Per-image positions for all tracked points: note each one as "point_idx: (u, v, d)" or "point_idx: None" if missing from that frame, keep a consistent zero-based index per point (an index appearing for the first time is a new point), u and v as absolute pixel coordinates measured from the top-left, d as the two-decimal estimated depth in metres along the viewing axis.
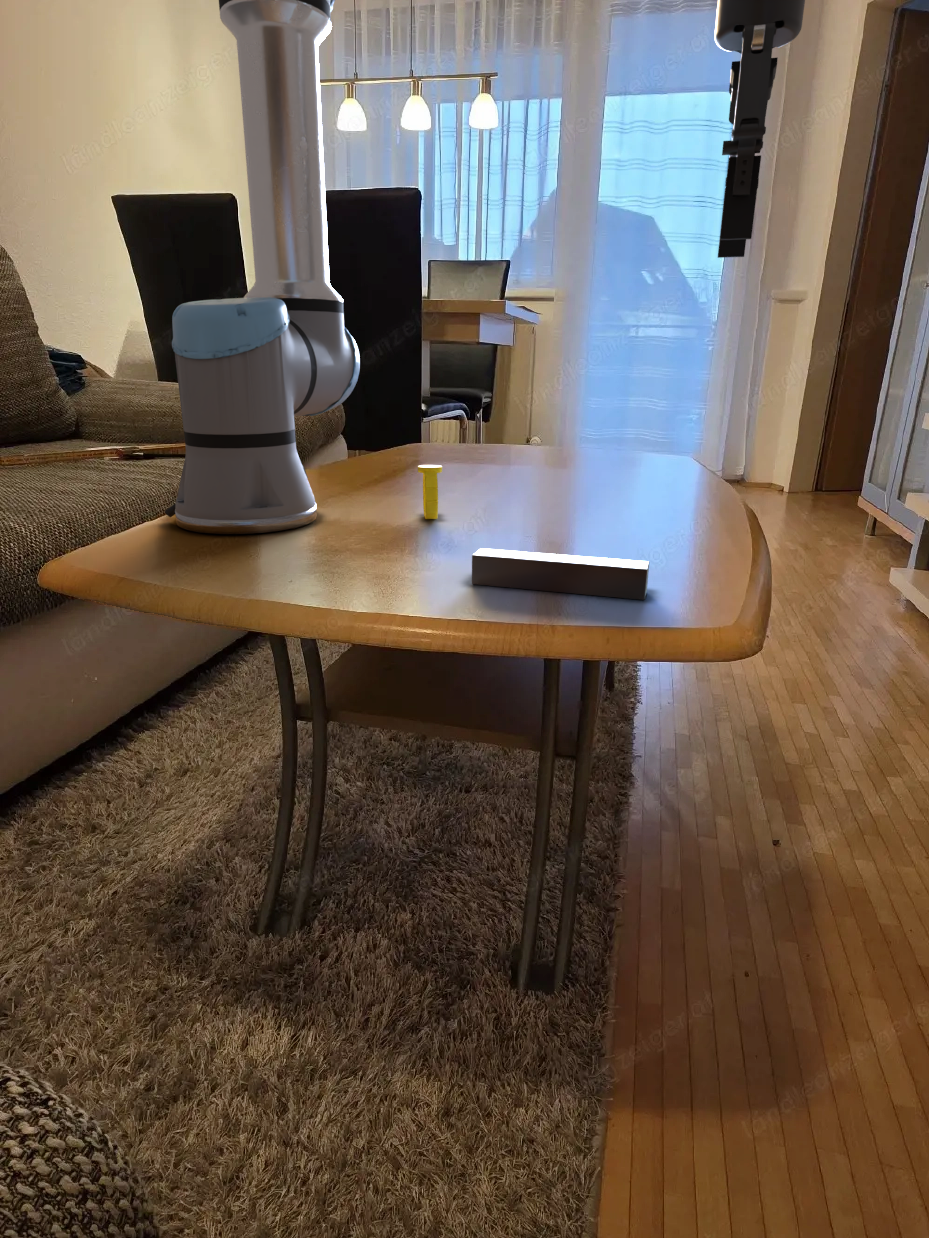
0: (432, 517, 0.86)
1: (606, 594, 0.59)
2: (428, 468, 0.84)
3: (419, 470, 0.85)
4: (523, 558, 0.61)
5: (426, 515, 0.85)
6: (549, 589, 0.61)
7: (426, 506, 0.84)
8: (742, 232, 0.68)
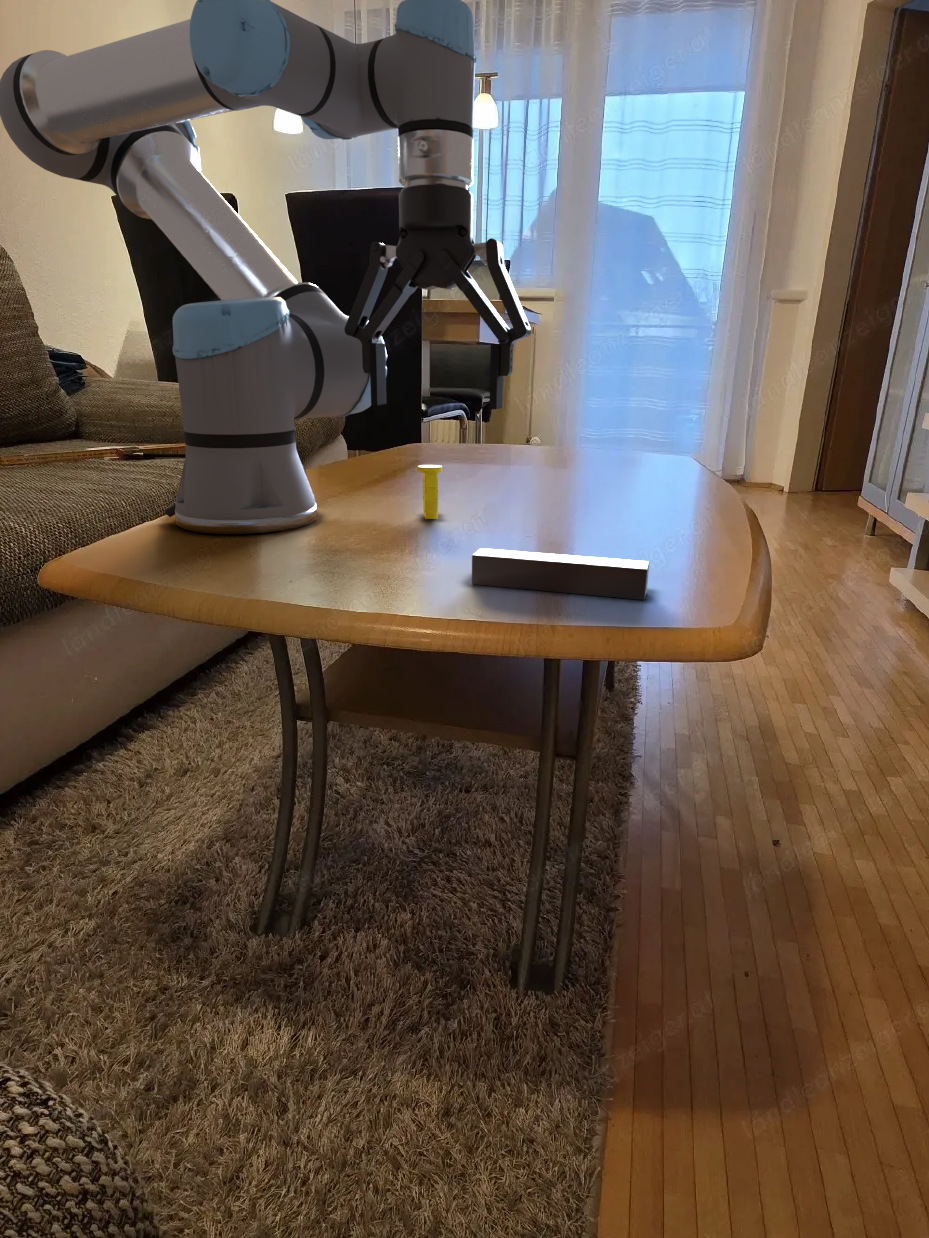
0: (432, 517, 0.86)
1: (606, 594, 0.59)
2: (428, 468, 0.84)
3: (419, 470, 0.85)
4: (523, 558, 0.61)
5: (426, 515, 0.85)
6: (549, 589, 0.61)
7: (426, 506, 0.84)
8: None
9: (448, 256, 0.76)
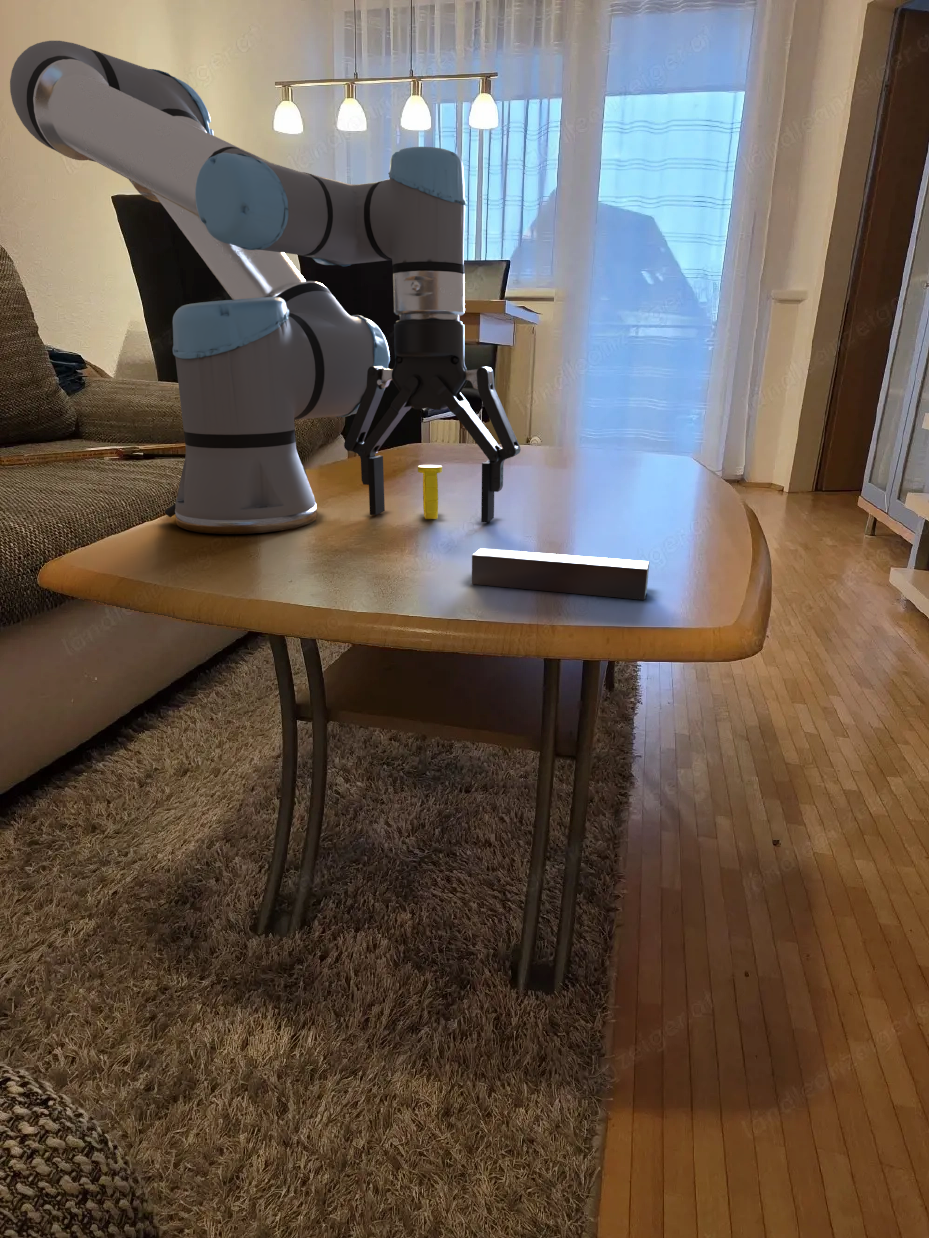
0: (432, 517, 0.86)
1: (606, 594, 0.59)
2: (428, 468, 0.84)
3: (419, 470, 0.85)
4: (523, 558, 0.61)
5: (426, 515, 0.85)
6: (549, 589, 0.61)
7: (426, 506, 0.84)
8: None
9: (441, 382, 0.80)
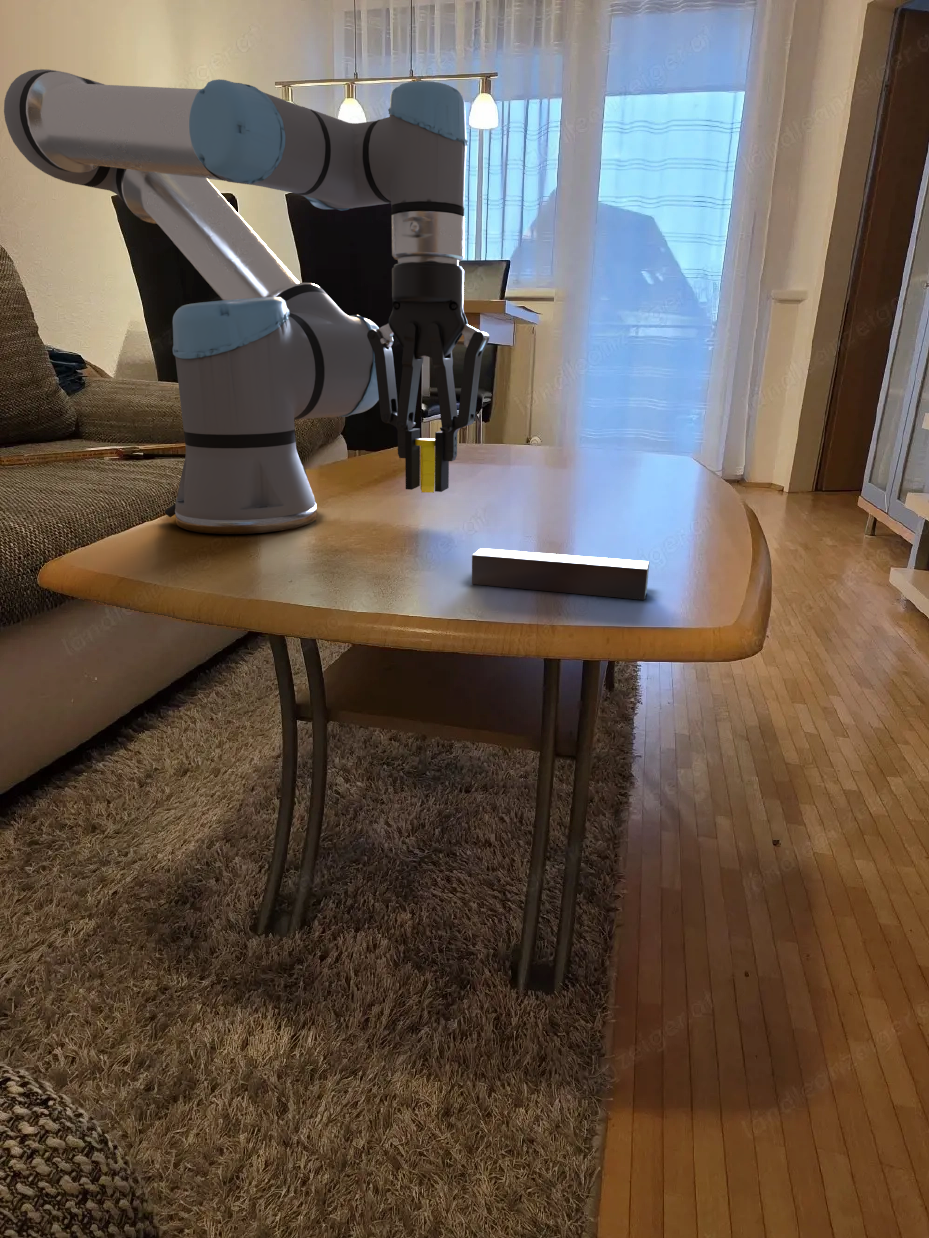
0: (428, 491, 0.85)
1: (606, 594, 0.59)
2: (425, 441, 0.84)
3: (416, 443, 0.84)
4: (523, 558, 0.61)
5: (422, 488, 0.84)
6: (549, 589, 0.61)
7: (422, 479, 0.83)
8: None
9: (438, 333, 0.79)
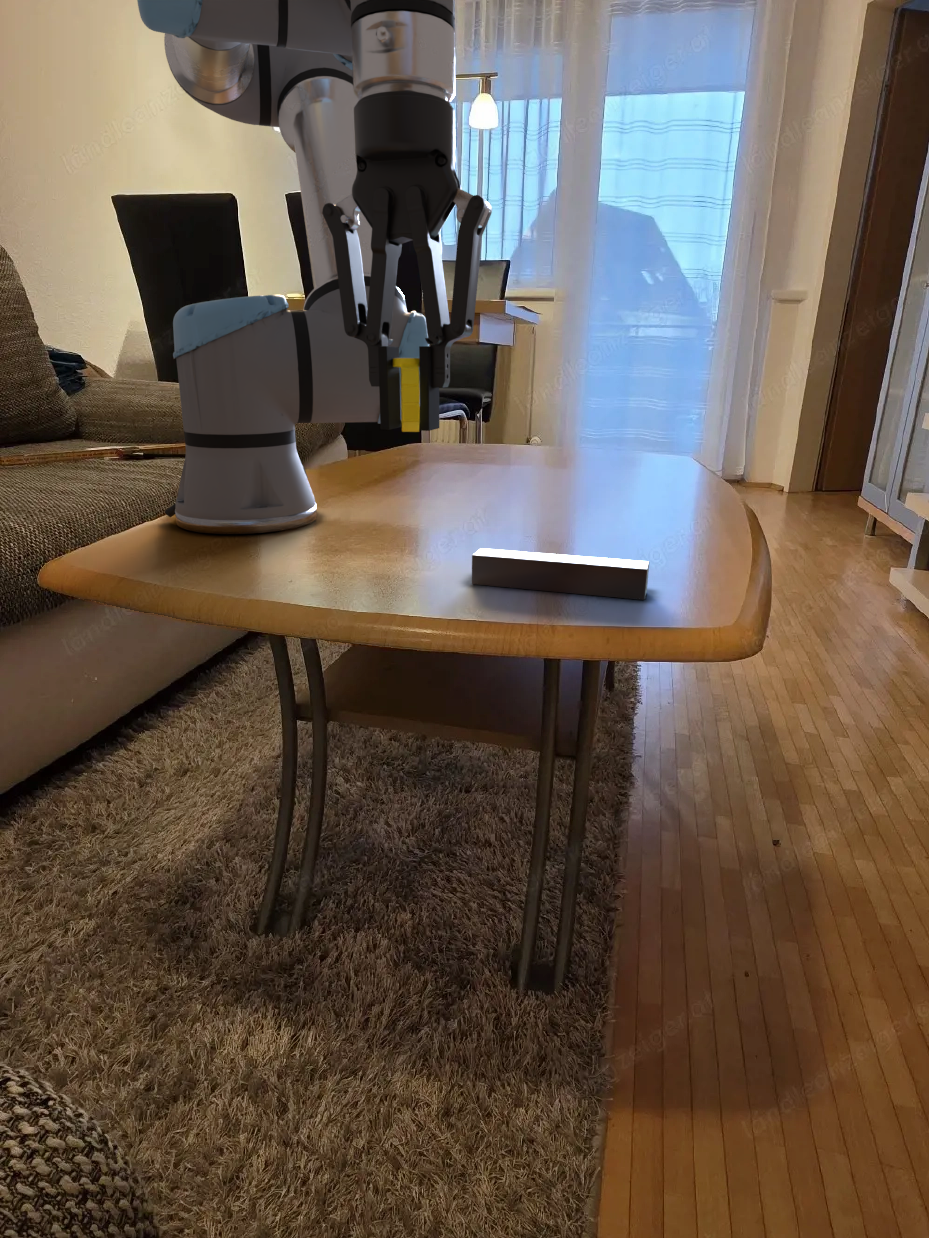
0: (412, 429, 0.62)
1: (606, 594, 0.59)
2: (406, 359, 0.61)
3: (394, 363, 0.61)
4: (523, 558, 0.61)
5: (403, 425, 0.61)
6: (549, 589, 0.61)
7: (403, 411, 0.60)
8: None
9: (420, 199, 0.56)
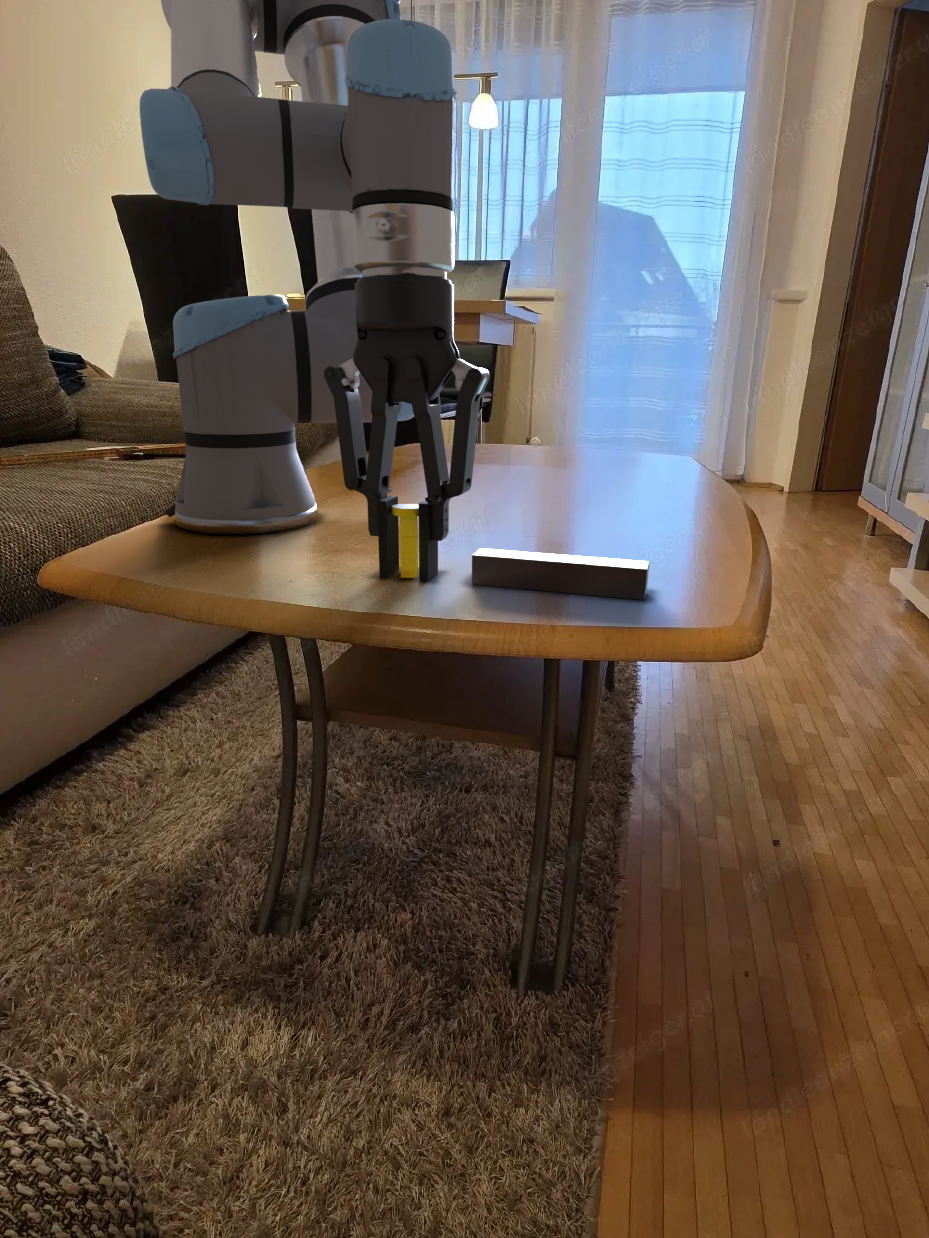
0: (410, 575, 0.63)
1: (606, 594, 0.59)
2: (405, 510, 0.62)
3: (393, 512, 0.63)
4: (523, 558, 0.61)
5: (402, 573, 0.63)
6: (549, 589, 0.61)
7: (401, 561, 0.62)
8: None
9: (419, 371, 0.57)
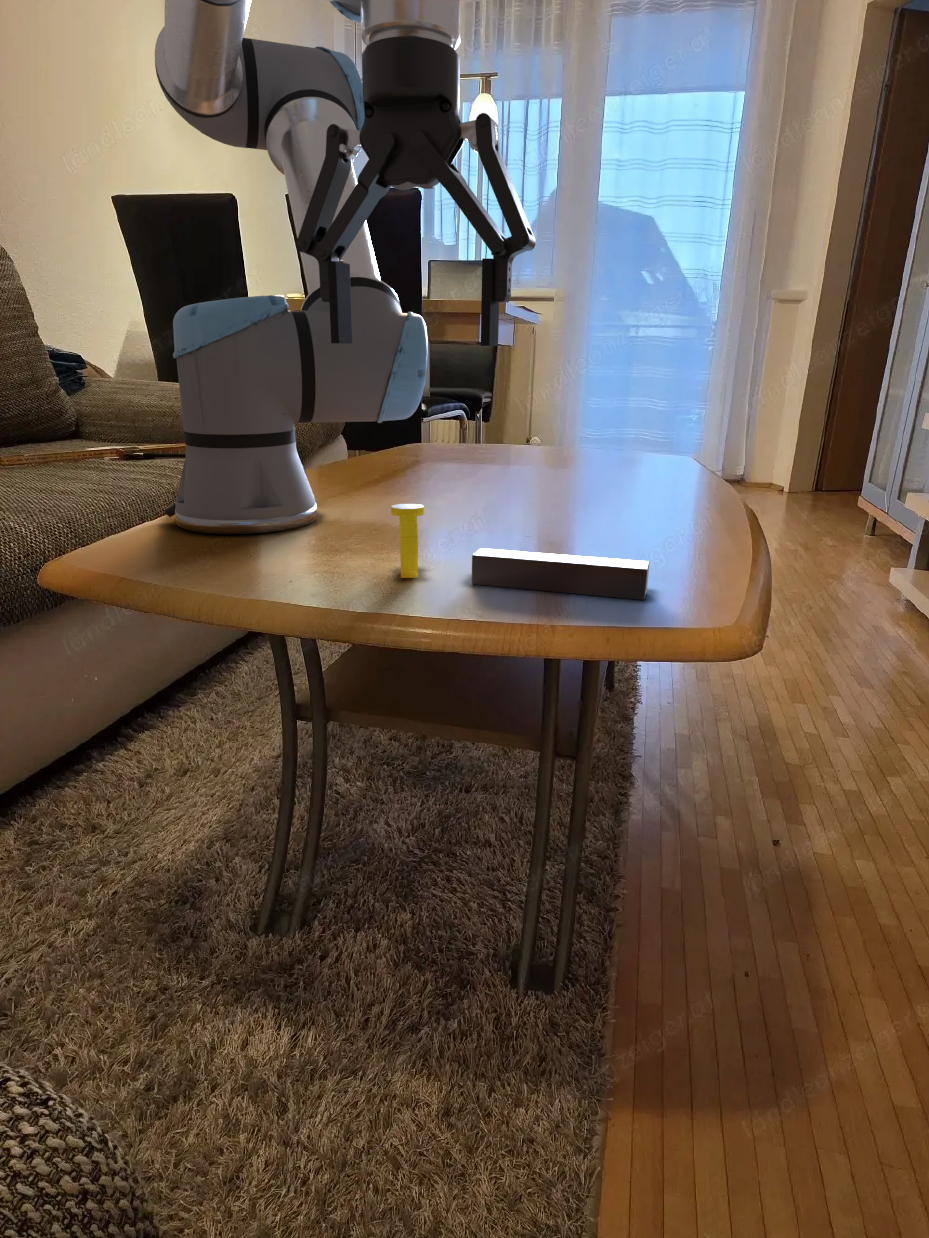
0: (410, 575, 0.63)
1: (606, 594, 0.59)
2: (404, 510, 0.62)
3: (393, 512, 0.63)
4: (523, 558, 0.61)
5: (402, 573, 0.63)
6: (549, 589, 0.61)
7: (401, 561, 0.62)
8: None
9: (426, 139, 0.58)
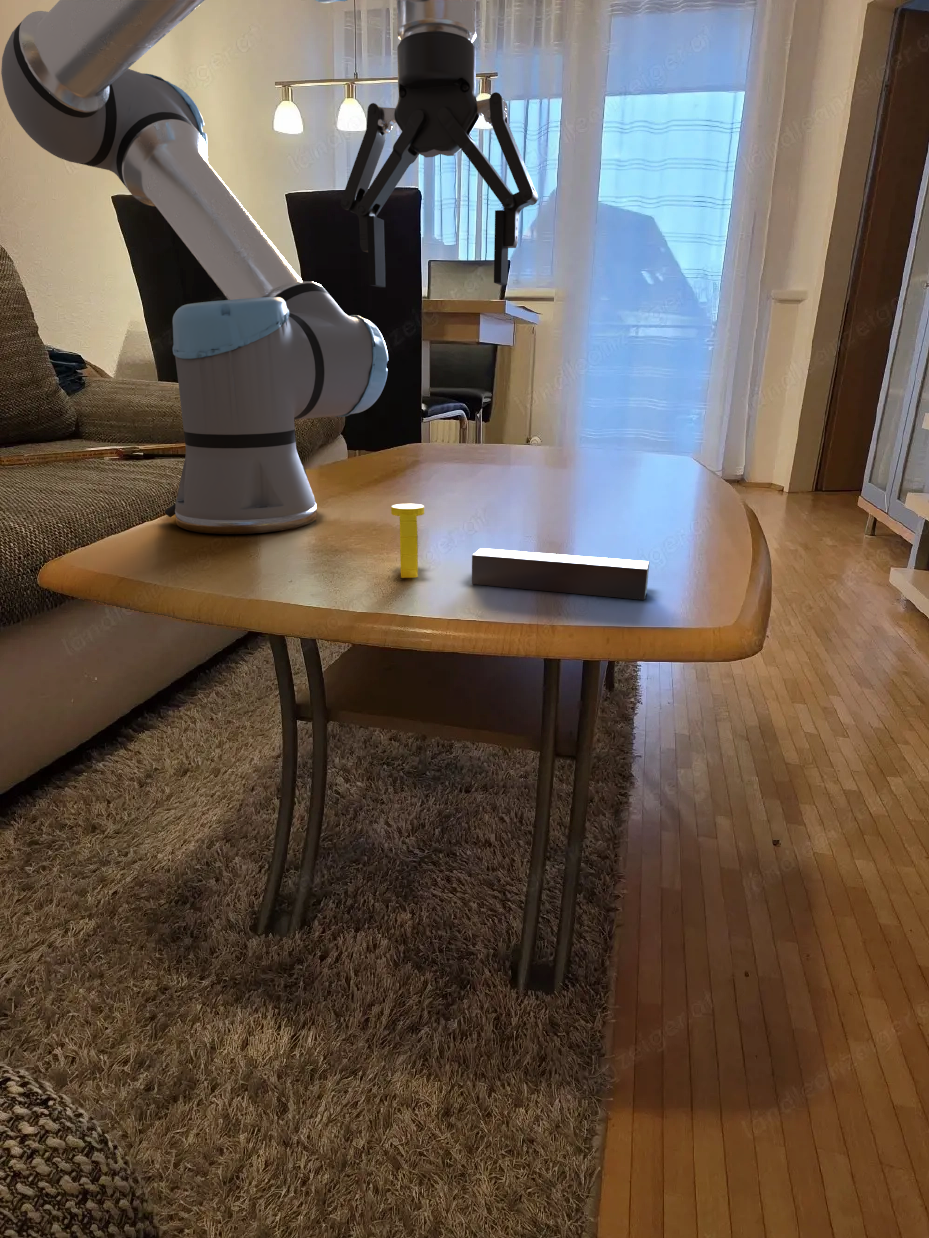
0: (410, 575, 0.63)
1: (606, 594, 0.59)
2: (405, 510, 0.62)
3: (393, 512, 0.63)
4: (523, 558, 0.61)
5: (402, 573, 0.63)
6: (549, 589, 0.61)
7: (401, 561, 0.62)
8: None
9: (449, 113, 0.72)
